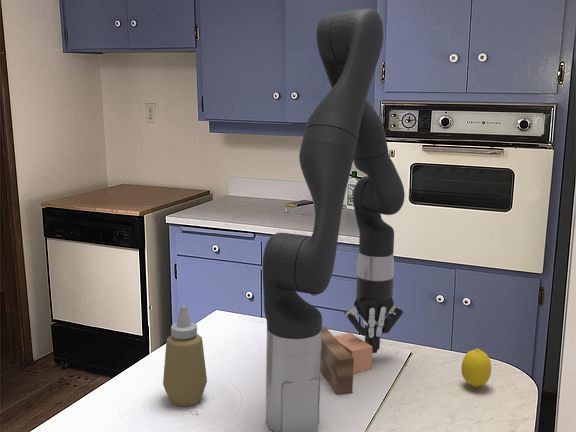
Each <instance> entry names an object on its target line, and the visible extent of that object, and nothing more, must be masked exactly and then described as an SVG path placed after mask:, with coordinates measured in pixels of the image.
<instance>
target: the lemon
mask: <svg viewBox="0 0 576 432" xmlns="http://www.w3.org/2000/svg"><path fill="white" fill-rule="evenodd" d="M491 362H492V361H491V359H490V357H489V355H488V354H487V353H486V352H484V351H482V350H481V349H479V348H475V349H472V350H470V351H467V353H466V354H465V355H464V357H463V359H462V362H461V366H460V367H461V375H462V378H463V379H464V380H465V382H466V383H468V384H469V385H471V386H472V388H478V387H481V386H484V385H485V384H486V383H488V381H489V380H490V378H491V374H492V363H491Z"/></svg>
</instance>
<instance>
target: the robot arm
mask: <svg viewBox="0 0 576 432" xmlns="http://www.w3.org/2000/svg"><path fill="white" fill-rule="evenodd" d="M315 34H316V35H315V36H316V44H317V45H316V46H317V51H318V54H319V58H320V60H321V63H322V65H323V68H324V70H325V74H326V76H327V79H328V82H329V84H330V87H331V89H330V90H329V92H328V93H327V94H326V95H325V96H324V97H323V98H322V100H321V101H320V102H319V104H318V105H317V106H316V107H315V108H314V109H313V112H312V113H311V115H310V116H309V118H308V119H307V123H306V125H305V128H304V132H303V136H302V140H301V145H300V149H299V155H298V157H299V160H298V161H299V165H300V169H301V172H302V175H303V179H304V180H305V183H306V185H307V188H308V191H309V192H310V196H311V200H312V204H313V207H314V222H313V223H314V225H313V229H312V234H311V235H304V234H299V233H298V234H297V233H290V232H276V233H273V234H272V235H271V236H270V237H269V239H267V242H266V244H265V247H264V251H263V256H262V266H261V267H262V286H263V309H264V316H265V320H266V354H265V355H266V356H265V357H266V359H265V360H266V362H265V363H266V367H265V368H266V370H265V371H266V375H265V376H266V377H265V383H266V384H265V423H266V425H267V427H268V428H269V429H270V430H271V431H273V432H319V431H318V430H319V429H318V428H319V425H320V406H321V405H320V402H321V401H320V399H321V397H320V396H321V372H320V369H321V337H322V327H323V317H322V313H321V311H320V310H319V309H318V308H317V307H315V306H313V305H312V304H310V302H308V301H306V300H305V299H303V298H302V297H301V296H300V295H299V294H298V292H299V293H304V294H310V295H321V294H323V293H324V292H325V291H326V289H328V286H329V284H330V282H331V278H332V275H333V272H334V268H335V267H334V266H335V262H336V254H337V247H338V240H339V235H340V234H339V233H340V225H341V218H342V214H343V213H342V212H343V205H344V202H345V196H346V190H347V187H348V184H349V183H348V182H349V179H350V175H351V170H352V168H353V164H354V166H355V168H356V169H357V170H358V171H360V172H362V173H364V174H365V175H366V176H363V177H361V178H359V180H358V181H357V182H356V184H355V185H354V188H353V190H352V191H353V192H352V205H353V210H354V215H355V218H356V224H357V227H358V231H359V238H358V239H359V241H358V242H359V243H358V257H357V264H356V265H357V266H356V293H355V294H356V295H355V296H356V298H355V301H354V303H353V307H352V308H351V309H349V310H345V311H343V315H344V316H345V318H346V319H347V320H348V321H349V323H351V325H352V327H354V328H355V330H356V332H358V333H359V334H360V335H361V336H363V337H364V341H365V342H366V343H368V344H369V345H371V346H372V354H377V353H378V351H379V350H380V347H381V346H380V344H381V336H382V335H383V334H388V333H390V331H391V330H392V328H393V327H394V326H395V325H396V323H397V321H398V320H399V319H400V318H401V316H402V315H403V314H404V311H403V309H401V308H400V307H399V306H398V305H395V301H394V299H393V295H394V277H395V275H394V274H395V273H394V272H395V260H394V249H395V247H394V245H395V230H394V228H393V226H391V225H389V224H388V223H387V222H385V220H384V219H383V218H382V215H385V216H391V215H396V214H397V213H398V212H400V211H401V209H402V207H403V205H404V202H405V195H406V194H405V188H404V187H405V186H404V184H403V182H402V179H401V177H400V175H399V172H398V170H397V168H396V166H395V164H394V162H393V160H392V159H391V156H390V154H389V147H388V143H387V137H386V131H385V127H384V124H383V121H382V119H381V117H380V115H379V114H378V112H377V111H376V110H375V108H374V107H373V106H372V105H371V103H370V102H369V101H368V100H367V99H368V98H367V97H368V94H369V91H370V87H371V84H372V81H373V77H374V75H375V71H376V69H377V66H378V62H379V59H380V56H381V52H382V48H383V43H384V42H383V41H384V24H383V20H382V18H381V16H380V14H379V12H377V11H376V10H375V9H373V8H357V9H351V10H344V11H340V12H334V13H330V14H326V15H324V16H323V17H321V19H320V20H319V22H318V24H317V27H316V33H315ZM358 314H359V316H360V317H361V318H362V321H363V325H361V323H360V322H359V320H358V318H359V316H358Z"/></svg>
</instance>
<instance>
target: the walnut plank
mask: <svg viewBox="0 0 576 432" xmlns="http://www.w3.org/2000/svg"><path fill="white" fill-rule="evenodd" d="M334 336H335V335H333V333H332V332H330V331H329V329H328V328H327V327H326V326H322V337H321V369H320V374H322V376H323V378H325V380H326V381H327V382H328V384H329V385H330V387H331V388H332V389H333V390H334V392H335V394H336V395H344V394H352V393H353V388H354V387H353V384H354V374H353V365H354V358H353V357H352V356H351V355H350V354H349V353H348V352H347V350H346V349H345V348H344V347H343V346H342V345H341V344H340V343H339V342H338V340H337V339H336V338H335V337H334Z"/></svg>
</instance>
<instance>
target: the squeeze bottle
mask: <svg viewBox="0 0 576 432" xmlns="http://www.w3.org/2000/svg"><path fill="white" fill-rule="evenodd" d="M188 309H189V308H188V306H187V305H181V306H180V307H179V312H178V317H177V322H175V323H173V324H172V325H171V327H170V333H171V334H170V335H169V336H168V337H167V338H166V342H165V343H166V344H165V355H164V366H163V367H164V368H163V378H162V385H163V388H164V390H165V393H166V396H167V398H168V401H169V402H170V403H171V404H172V405H175V406H179V407H187V406H194V405H196V404H198V403H199V402H200V401H201V400H202V397H203V395H204V392H205V388H206V385H207V383H208V378H207V377H208V376H207V369H206V367H207V366H206V360H205V359H206V358H205V352H204V343H203V337H202V336H201V335H200V334H198V325H197V324H196V323H195V322H193V321H191V317H190V313H189V310H188Z"/></svg>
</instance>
